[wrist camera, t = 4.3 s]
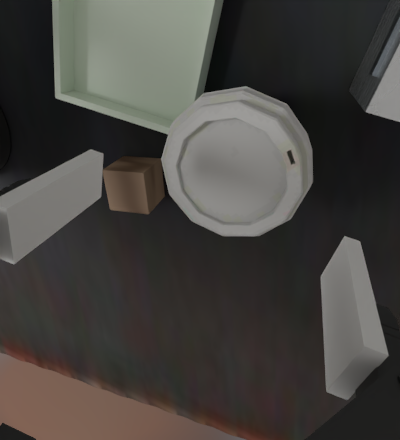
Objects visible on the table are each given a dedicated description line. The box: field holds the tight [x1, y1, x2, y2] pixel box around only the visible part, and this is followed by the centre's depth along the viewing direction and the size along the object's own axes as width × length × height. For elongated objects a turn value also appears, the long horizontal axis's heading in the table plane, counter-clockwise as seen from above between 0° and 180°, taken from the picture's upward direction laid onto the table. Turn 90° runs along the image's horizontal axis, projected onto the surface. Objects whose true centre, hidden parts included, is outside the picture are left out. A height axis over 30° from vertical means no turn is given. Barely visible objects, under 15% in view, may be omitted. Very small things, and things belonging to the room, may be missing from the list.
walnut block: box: [103, 156, 165, 214], centre depth 38 cm, size 5×5×5 cm
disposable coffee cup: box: [161, 86, 313, 236], centre depth 27 cm, size 11×11×15 cm
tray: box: [52, 0, 224, 134], centre depth 31 cm, size 15×15×3 cm
